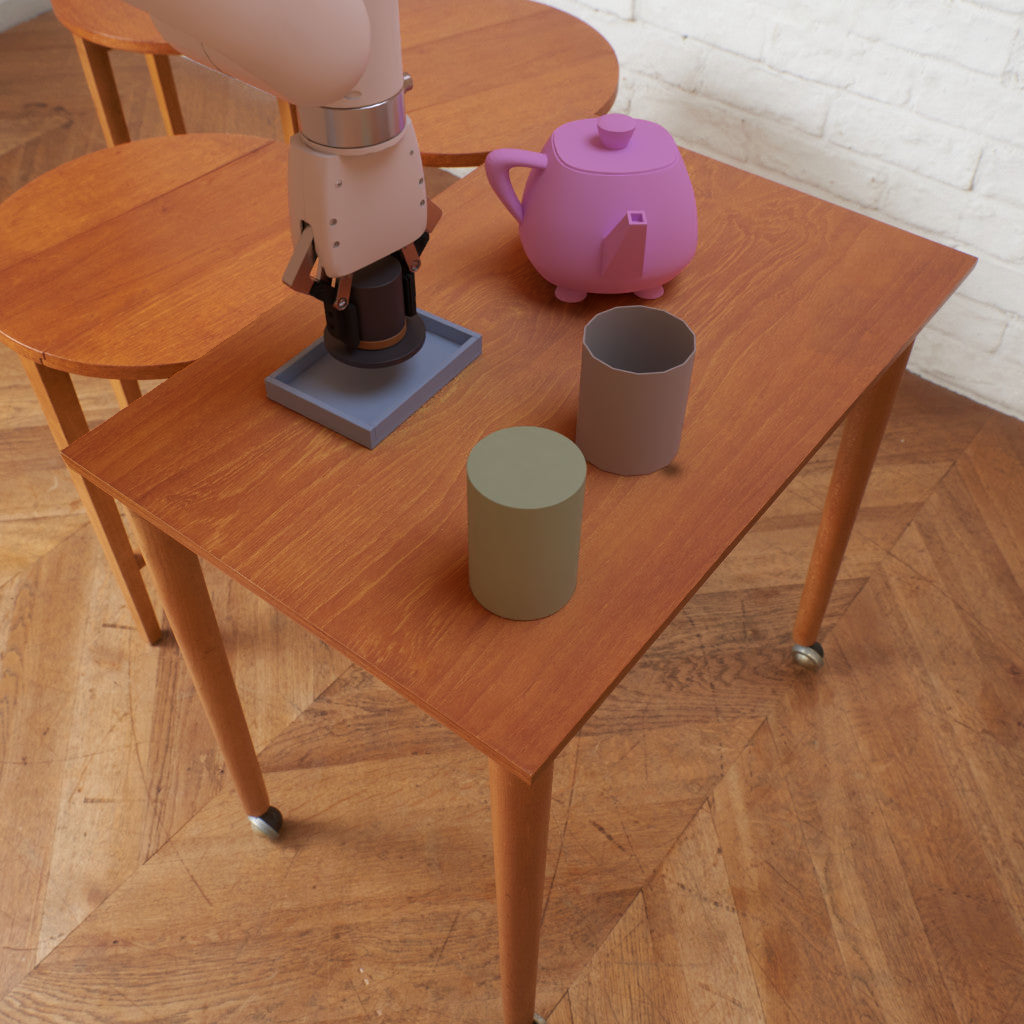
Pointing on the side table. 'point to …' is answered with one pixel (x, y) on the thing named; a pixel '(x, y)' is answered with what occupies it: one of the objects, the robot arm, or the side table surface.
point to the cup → (633, 389)
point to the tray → (372, 383)
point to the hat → (379, 319)
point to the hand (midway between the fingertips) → (373, 322)
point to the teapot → (602, 207)
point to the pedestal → (524, 521)
